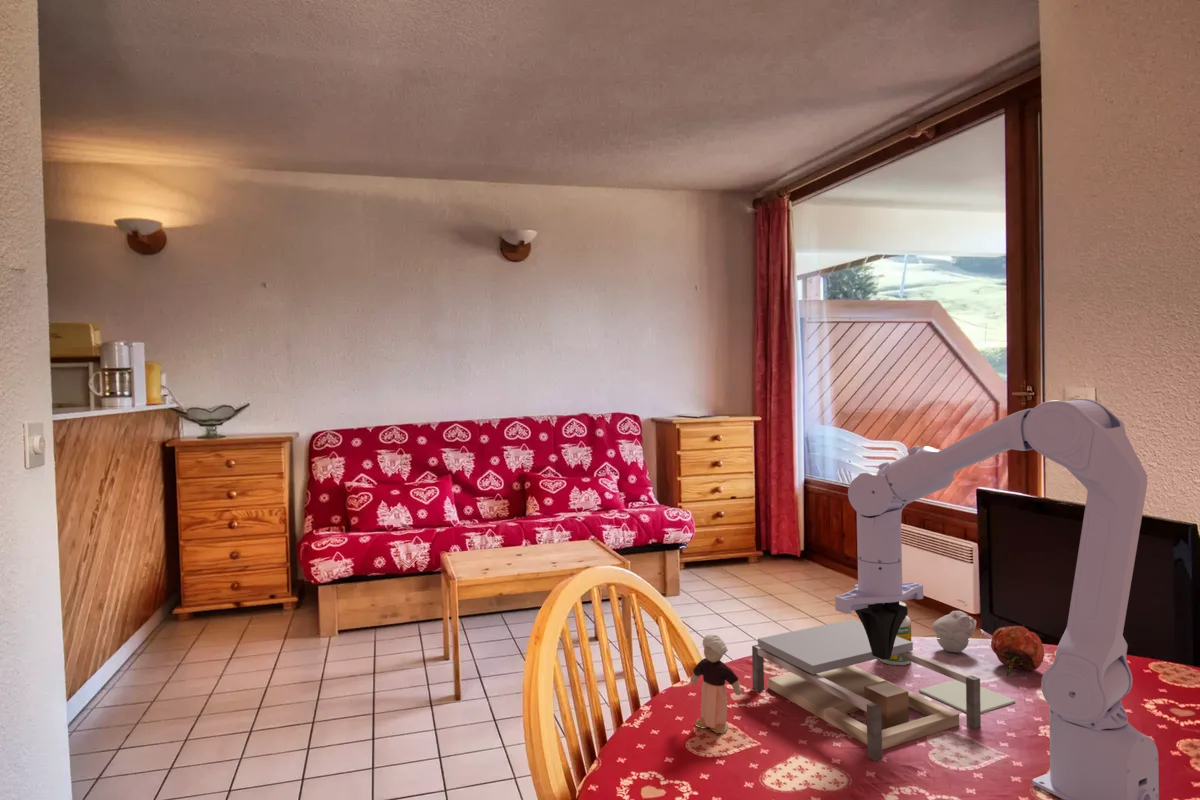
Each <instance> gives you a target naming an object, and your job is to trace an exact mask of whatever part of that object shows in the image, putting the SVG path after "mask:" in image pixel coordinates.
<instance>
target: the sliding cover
mask: <svg viewBox="0 0 1200 800" xmlns="http://www.w3.org/2000/svg"><path fill="white" fill-rule="evenodd" d="M913 643H914V642H913V641H912V640H911V641H908V640H905V639H903V638H900V637H898V636H896V639H895V642H894V646H893V650H892V654H891V655H895V654H899V653H904V652H908V651H912V652H913V651H914V650H913V649H914V647H913V645H914V644H913ZM757 645H758V647H760V648H762V649H764V650H766V651H768V652H770V653H772V654H774V655H776V656H778V657H780V658H782V659H784V660H786V661H788V662H790V663H792V664H793V665H795V666H797V667H799V668H801V669H803V670H805V671H807V672H809V673H811V674H817V673H821V672H825V671H829V670H834V669H838V668H842V667H846V666H850V665H853V666H855V665H858V664H862V663H865V662H870V661H875V660H877V659H878V660H879V658H878V657H875V656H873V655H872V651H871V647H870V644H869V640H868V637H867V634H866V631H865V629H864V626H863V624H862V622H861V621H858V620H855V619H851V618H850V619H847V620H843V621H837V622H832V623H828V624H823V625H819V626H813V627H808V628H802V629H798V630H793V631H788V632H782V633H778V634H774V635H773V634H772V635H769V636H764V637H759V638H757Z"/></svg>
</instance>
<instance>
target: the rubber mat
mask: <svg viewBox="0 0 1200 800" xmlns="http://www.w3.org/2000/svg"><path fill="white" fill-rule="evenodd" d="M918 692H919V693H921V694H924V695H926V696H929V697H930V698H933V699H935V700H937V701H940V702H941V703H944V704H946V705H947V706H951V707H953V708H955V709H957V710H959V711H961V712H962V713H963V712H964V713H966V684H965V683H962V682H960V681H957V680H955V679H951V680H948V681H944V682H940V683H936V684H934V685H930V686H927V687H922V688H919V689H918ZM1015 703H1016V700H1015V699H1013V698H1010V697H1008V696H1005V695H1003V694H1001V693H998V692H995V691H993V690H991V689H988V688H986V687H983V686H981V685H980V712H981V714H983V713H986V712H990V711H993V710H996V709H998V708H1002V707H1004V706H1009V705H1012V704H1015Z"/></svg>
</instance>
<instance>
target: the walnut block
mask: <svg viewBox="0 0 1200 800" xmlns="http://www.w3.org/2000/svg"><path fill="white" fill-rule="evenodd" d="M887 681H888V680H886V681H881V682H878V683H874V684H870V685H866V686H864V698H865V699H867V700H869V701H871V702H873V703H876V704H878V705H880V706H881V711H882V728H883V729H887V728H890V727H894V726H897V725H900V724H903V723H907V722H910V715H909V714H910V713H909V712H910V707H909V695H908V691H909V690H908V689H906V688H904V687H901V686H899V685H897V684H895V683H893V684H892V682H891V681H888V682H887ZM894 684H895V685H894ZM896 685H897V686H896ZM898 686H899V687H898ZM905 689H906V690H905ZM907 690H908V691H907ZM864 719H866V720H867V712H866V711H864Z"/></svg>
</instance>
